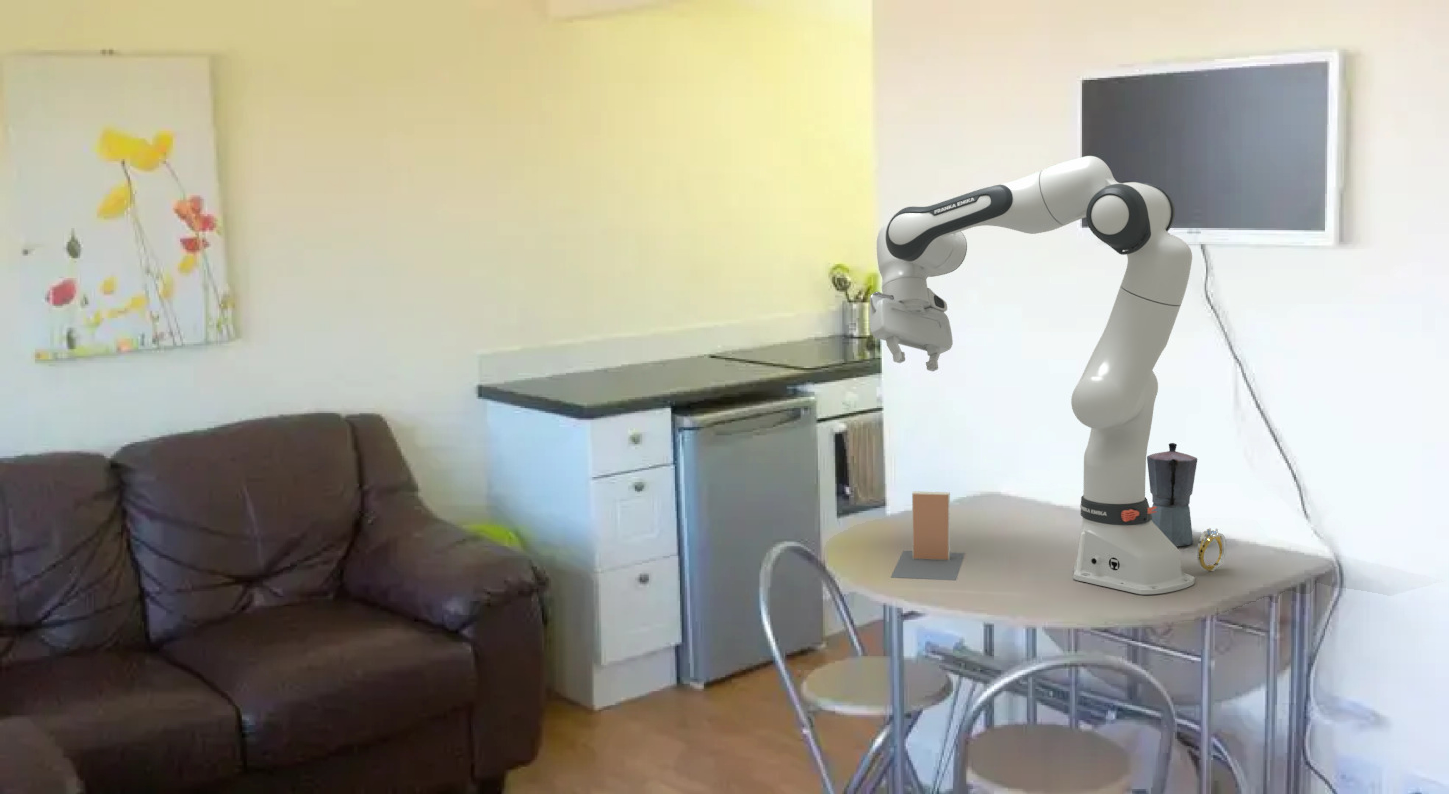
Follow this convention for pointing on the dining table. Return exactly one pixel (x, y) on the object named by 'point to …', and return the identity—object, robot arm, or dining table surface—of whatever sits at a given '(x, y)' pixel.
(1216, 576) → the dining table surface
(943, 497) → the tile
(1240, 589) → the dining table surface
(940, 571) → the mat
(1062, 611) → the dining table surface
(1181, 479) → the moka pot
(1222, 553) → the ring
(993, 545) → the dining table surface
